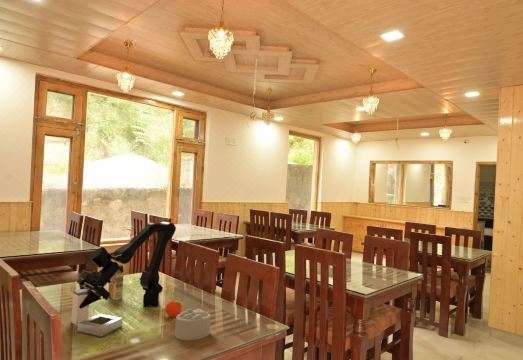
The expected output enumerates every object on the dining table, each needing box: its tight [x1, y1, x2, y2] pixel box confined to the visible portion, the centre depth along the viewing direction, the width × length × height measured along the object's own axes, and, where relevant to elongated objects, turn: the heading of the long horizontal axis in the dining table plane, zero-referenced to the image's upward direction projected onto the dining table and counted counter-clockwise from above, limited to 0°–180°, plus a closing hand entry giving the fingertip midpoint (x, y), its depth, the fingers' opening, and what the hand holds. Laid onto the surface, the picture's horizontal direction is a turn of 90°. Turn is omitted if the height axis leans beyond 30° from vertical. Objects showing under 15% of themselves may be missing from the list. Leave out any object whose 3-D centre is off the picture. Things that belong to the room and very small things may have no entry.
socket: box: [77, 313, 123, 338], centre depth 136 cm, size 11×11×4 cm
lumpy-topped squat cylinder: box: [174, 308, 212, 341], centre depth 136 cm, size 10×13×9 cm
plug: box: [70, 288, 90, 326], centre depth 142 cm, size 4×4×12 cm
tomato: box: [165, 299, 184, 318], centre depth 153 cm, size 8×7×7 cm
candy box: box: [107, 266, 125, 301], centre depth 174 cm, size 9×4×15 cm, turn 44°
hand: (77, 306), depth 141 cm, fingers open, 5 cm apart
